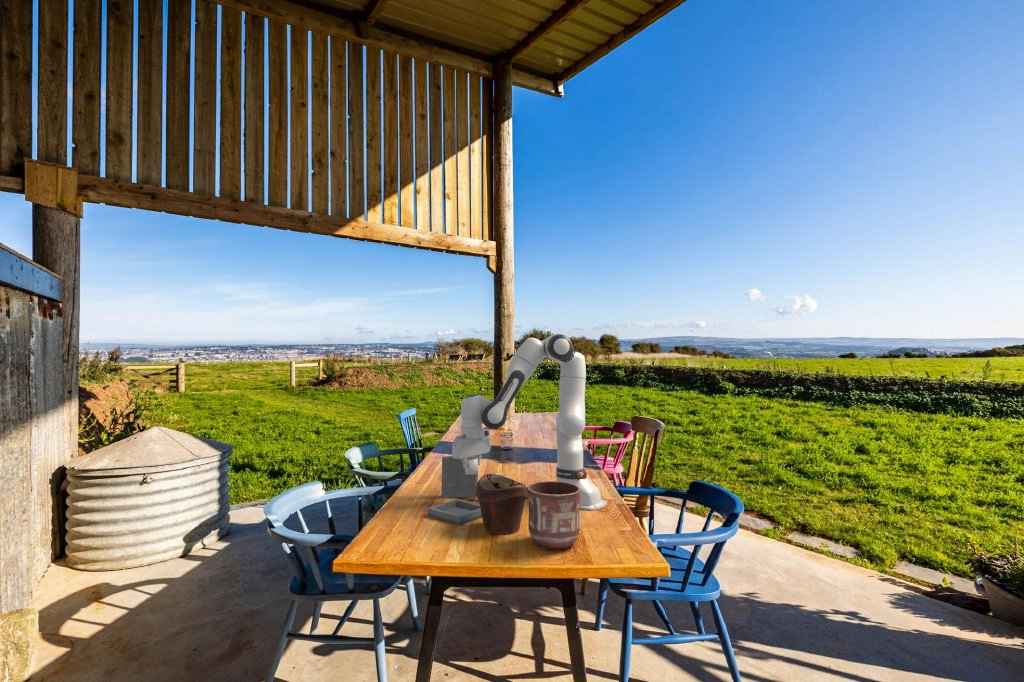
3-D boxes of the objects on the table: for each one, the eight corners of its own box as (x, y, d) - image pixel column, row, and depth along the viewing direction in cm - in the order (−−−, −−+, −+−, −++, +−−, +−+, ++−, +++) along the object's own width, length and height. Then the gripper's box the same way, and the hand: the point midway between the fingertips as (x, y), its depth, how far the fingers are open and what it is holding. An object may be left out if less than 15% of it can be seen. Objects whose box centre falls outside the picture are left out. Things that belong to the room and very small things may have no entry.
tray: (488, 514, 183) (488, 506, 184) (460, 525, 171) (460, 517, 171) (457, 506, 194) (457, 499, 194) (427, 516, 181) (427, 508, 181)
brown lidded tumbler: (526, 539, 157) (526, 484, 158) (468, 535, 161) (468, 481, 162) (534, 523, 174) (534, 473, 176) (481, 520, 178) (482, 471, 180)
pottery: (514, 543, 153) (515, 487, 154) (548, 530, 166) (549, 478, 167) (558, 559, 141) (559, 498, 142) (591, 543, 154) (591, 487, 155)
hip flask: (441, 498, 207) (441, 451, 208) (441, 495, 211) (442, 450, 212) (477, 497, 208) (478, 451, 209) (477, 495, 212) (478, 449, 213)
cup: (481, 472, 199) (480, 457, 199) (471, 475, 194) (471, 460, 195) (471, 471, 202) (471, 456, 202) (461, 473, 198) (462, 458, 198)
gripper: (459, 436, 189) (459, 472, 188) (492, 431, 205) (492, 463, 204) (448, 435, 193) (448, 470, 192) (481, 430, 209) (481, 462, 208)
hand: (471, 466), depth 198 cm, fingers closed on cup, 6 cm apart
